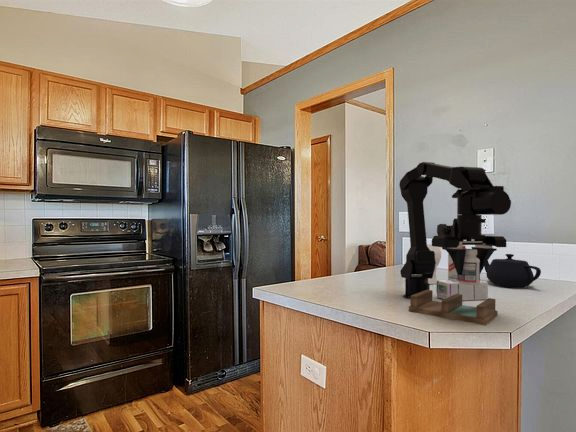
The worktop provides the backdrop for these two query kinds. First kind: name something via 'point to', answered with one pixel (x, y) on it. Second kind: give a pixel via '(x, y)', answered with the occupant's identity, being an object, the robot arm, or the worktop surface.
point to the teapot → (511, 272)
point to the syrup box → (462, 290)
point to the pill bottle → (470, 269)
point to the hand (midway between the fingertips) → (468, 274)
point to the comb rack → (453, 308)
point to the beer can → (452, 267)
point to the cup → (437, 259)
